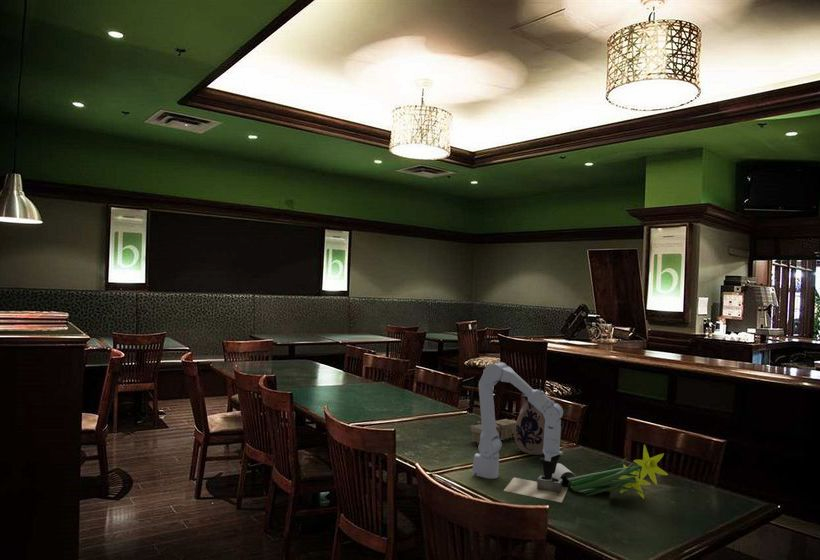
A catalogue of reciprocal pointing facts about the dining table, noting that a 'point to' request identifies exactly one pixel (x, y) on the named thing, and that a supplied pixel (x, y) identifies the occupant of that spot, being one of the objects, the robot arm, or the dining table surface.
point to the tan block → (502, 426)
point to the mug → (563, 472)
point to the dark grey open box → (549, 484)
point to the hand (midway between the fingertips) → (549, 475)
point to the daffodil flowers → (619, 476)
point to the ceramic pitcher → (530, 429)
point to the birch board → (534, 490)
